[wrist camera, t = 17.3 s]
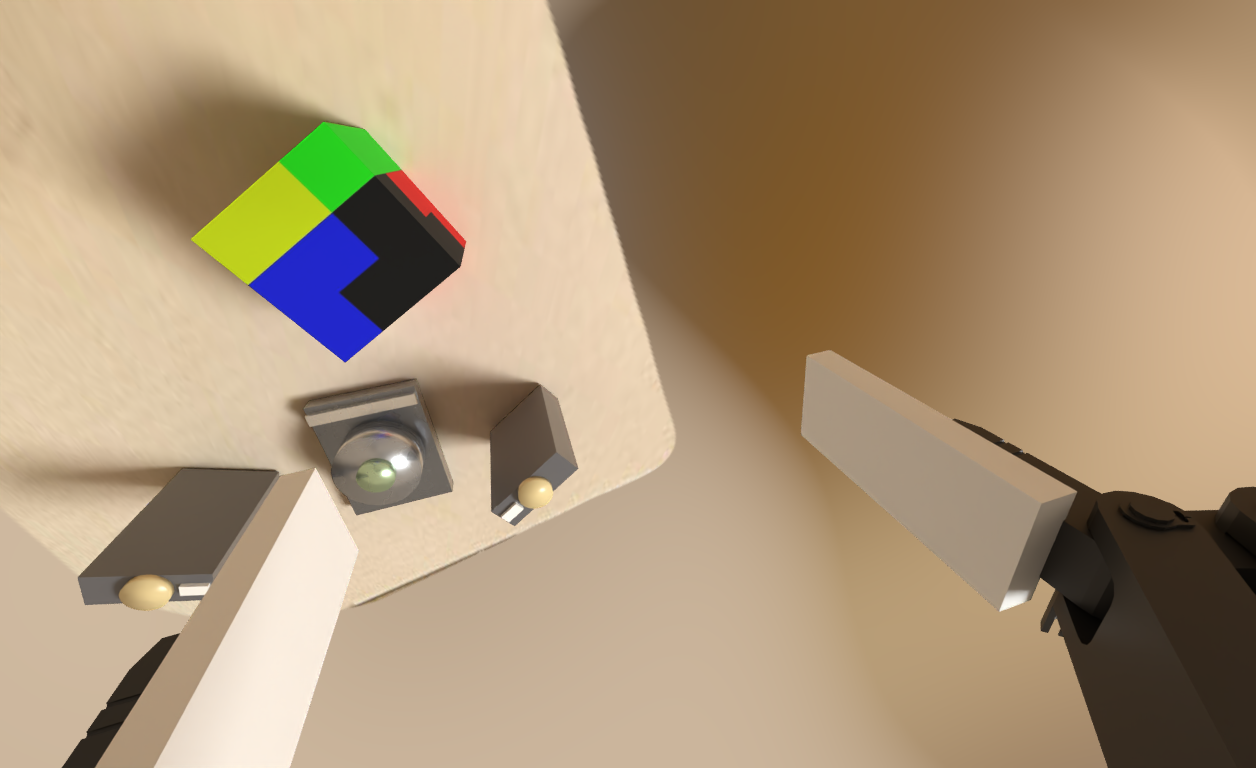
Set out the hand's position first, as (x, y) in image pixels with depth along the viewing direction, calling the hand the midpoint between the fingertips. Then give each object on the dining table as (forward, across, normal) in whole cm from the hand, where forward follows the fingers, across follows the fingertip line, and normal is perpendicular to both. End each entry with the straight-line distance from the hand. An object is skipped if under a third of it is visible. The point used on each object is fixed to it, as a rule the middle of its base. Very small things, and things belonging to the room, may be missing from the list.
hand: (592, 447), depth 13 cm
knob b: (+32, -3, -16) cm, 36 cm away
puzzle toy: (+32, -11, +3) cm, 34 cm away
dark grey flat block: (+32, -29, -16) cm, 46 cm away
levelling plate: (+32, -16, -16) cm, 39 cm away
